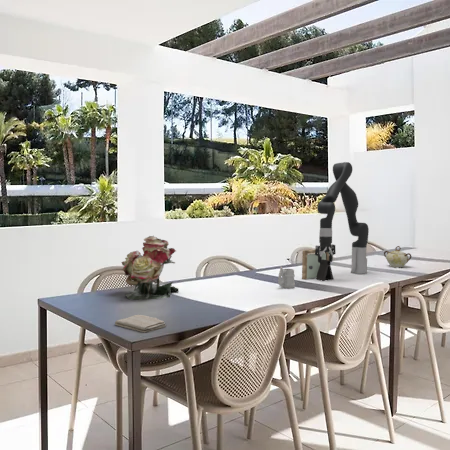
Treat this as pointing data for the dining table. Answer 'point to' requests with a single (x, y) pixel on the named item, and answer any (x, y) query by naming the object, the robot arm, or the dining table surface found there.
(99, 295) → the dining table surface
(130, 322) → the washcloth
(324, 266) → the phone stand
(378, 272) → the dining table surface
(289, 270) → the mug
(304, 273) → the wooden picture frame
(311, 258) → the door
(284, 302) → the dining table surface
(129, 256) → the rose bouquet
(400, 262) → the sugar bowl
